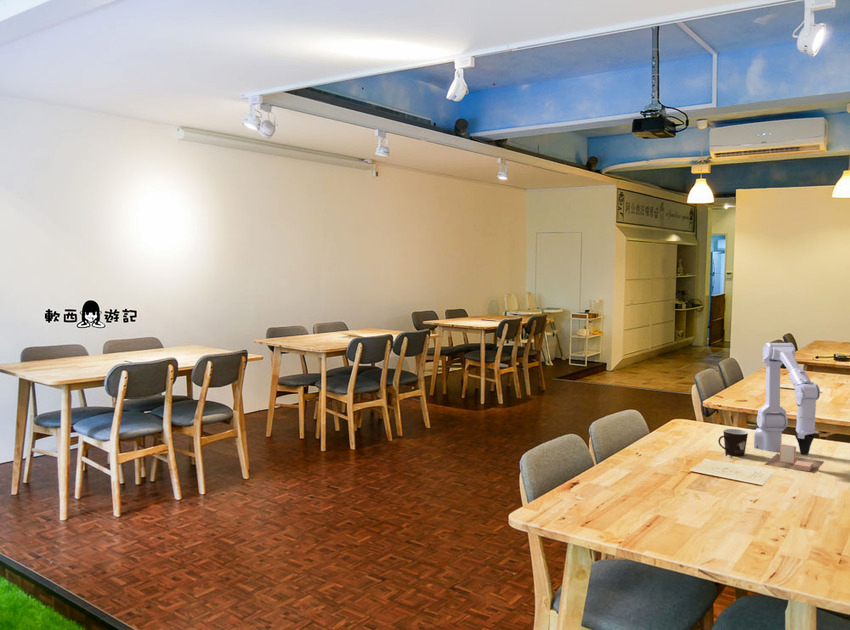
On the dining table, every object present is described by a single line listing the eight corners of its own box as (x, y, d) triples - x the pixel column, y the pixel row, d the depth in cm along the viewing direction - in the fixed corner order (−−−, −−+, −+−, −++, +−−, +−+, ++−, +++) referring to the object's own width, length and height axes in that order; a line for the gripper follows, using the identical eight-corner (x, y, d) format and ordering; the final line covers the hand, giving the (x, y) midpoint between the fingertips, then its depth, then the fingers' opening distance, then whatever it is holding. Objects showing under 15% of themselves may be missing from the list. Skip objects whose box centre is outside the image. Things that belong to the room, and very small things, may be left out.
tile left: (779, 462, 251) (780, 444, 250) (780, 461, 252) (781, 443, 252) (794, 464, 247) (795, 447, 247) (795, 463, 249) (796, 446, 248)
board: (764, 467, 248) (764, 464, 247) (776, 456, 262) (776, 453, 262) (813, 476, 237) (813, 473, 237) (824, 464, 252) (824, 461, 252)
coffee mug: (742, 454, 265) (743, 429, 265) (750, 460, 257) (751, 434, 256) (711, 453, 266) (712, 428, 266) (718, 459, 258) (719, 433, 257)
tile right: (797, 465, 247) (793, 469, 242) (797, 460, 247) (793, 464, 242) (813, 467, 244) (809, 471, 239) (813, 462, 243) (809, 466, 238)
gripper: (814, 422, 234) (812, 461, 235) (822, 415, 245) (821, 452, 246) (791, 419, 238) (790, 457, 239) (800, 412, 249) (799, 449, 250)
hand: (804, 454), depth 243 cm, fingers closed
